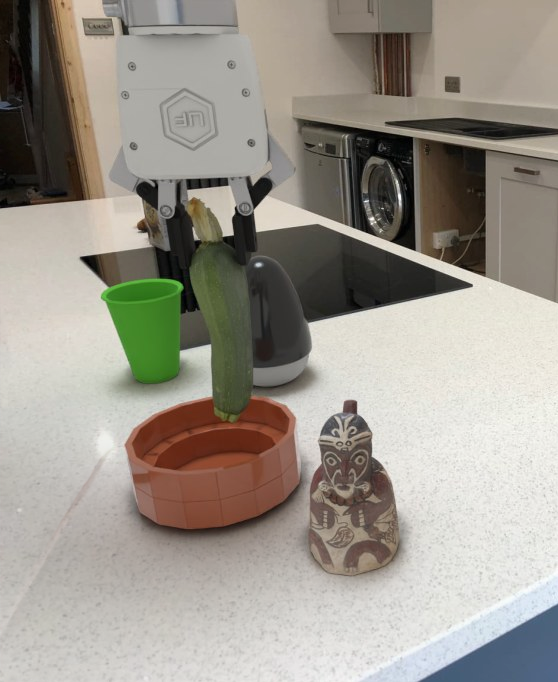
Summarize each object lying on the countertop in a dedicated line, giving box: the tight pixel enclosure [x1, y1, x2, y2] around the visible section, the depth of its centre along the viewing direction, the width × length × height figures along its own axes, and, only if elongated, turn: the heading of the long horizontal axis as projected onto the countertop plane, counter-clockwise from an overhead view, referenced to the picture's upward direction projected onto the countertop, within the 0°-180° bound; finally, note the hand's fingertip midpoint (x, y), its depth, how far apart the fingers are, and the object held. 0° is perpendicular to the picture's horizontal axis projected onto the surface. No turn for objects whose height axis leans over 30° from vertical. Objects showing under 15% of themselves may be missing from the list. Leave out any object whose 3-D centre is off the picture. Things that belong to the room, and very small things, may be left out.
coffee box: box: [141, 179, 190, 252], centre depth 147 cm, size 9×6×16 cm
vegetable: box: [186, 196, 254, 423], centre depth 61 cm, size 4×4×20 cm
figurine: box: [307, 399, 400, 577], centre depth 57 cm, size 7×7×12 cm
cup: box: [100, 278, 184, 384], centre depth 88 cm, size 9×9×11 cm
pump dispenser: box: [244, 255, 313, 388], centre depth 86 cm, size 10×10×15 cm
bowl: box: [123, 395, 302, 530], centre depth 66 cm, size 14×14×6 cm
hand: (216, 260), depth 59 cm, fingers closed on vegetable, 3 cm apart
